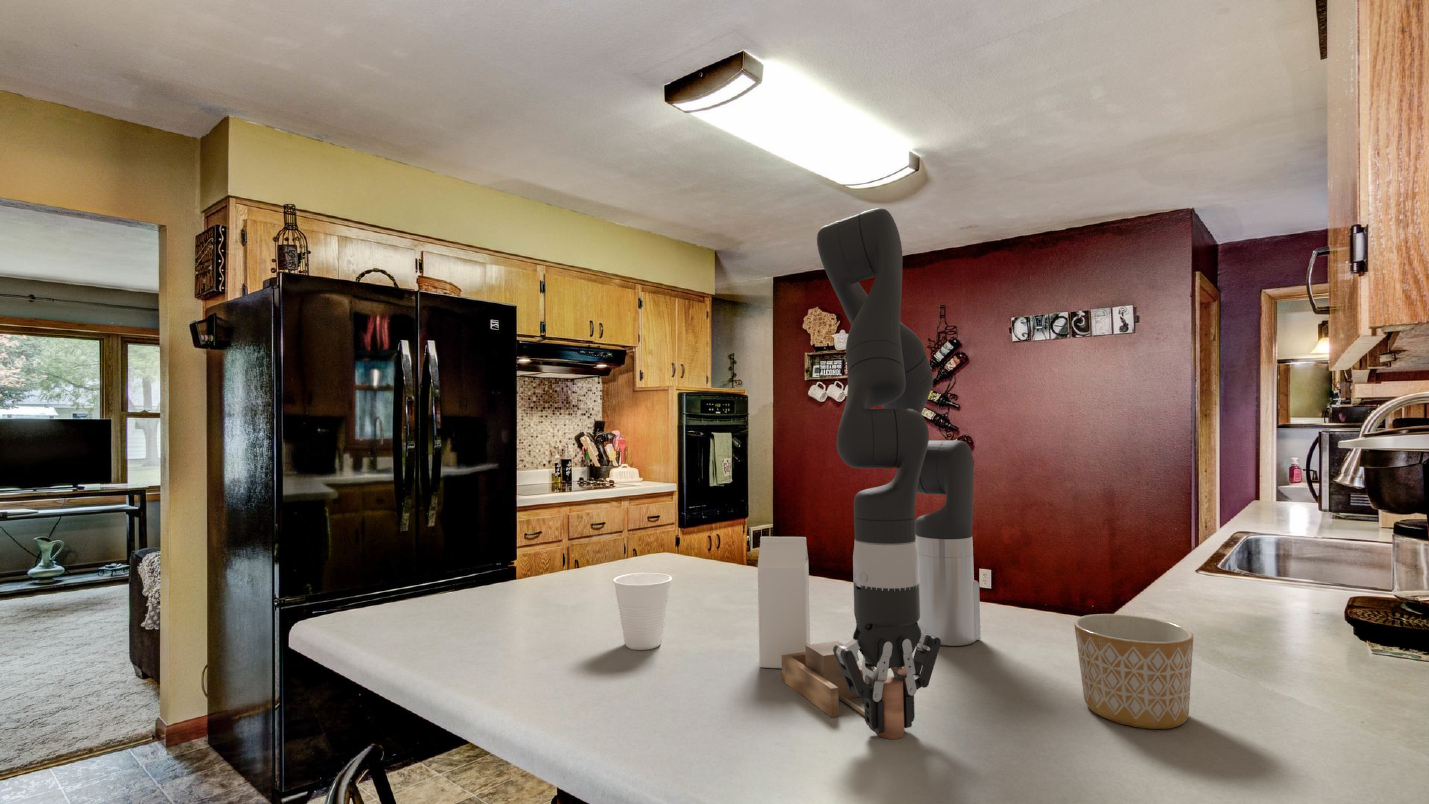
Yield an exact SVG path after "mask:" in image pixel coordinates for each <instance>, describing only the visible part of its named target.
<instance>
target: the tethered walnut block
mask: <svg viewBox="0 0 1429 804" xmlns="http://www.w3.org/2000/svg"><path fill="white" fill-rule="evenodd" d="M837 644H839V645H841V646H843V645H845V643H842V642H840V641H839V640H831V641H825V642H818V643H810V644H809V645H805V652H806V667H808V668H809V669H811V670H812V671H814V672H815V673H817V674H818V675H820V676H821V677H823V678H825V679H826V680H828V681H829V682H831V683H832V684H834V685H835V686H837V687H838V701H841V702H843V703H845V704H846V705H847V706H849V707H850V708H852V709H853V710H855V711H856V712H857V713H859V714H860V715H862V716H863V717H865V709H864V708H862V707H860V706H859V705H857V704H856V703H854V702H853V701H852V700H850V699H853V698H854V699H855V698H858V697H859V696H858V695H857V694H855V693H853V692H851V691H850V690H849V689H848V687H847V684H846V682H845V679H844V677H843V674H842V672H841V669H840V667H839V664H838V662H837V660H836V657H835V655H834V652H833V648H834V646H835V645H837ZM881 700H882V701H883V709H884V732H883V733H879V734H877V733H876V734H877V736H878V737H880V738H883V739H886V740H899V739H902V738H904V737H905V728H904V701H903V681H902V680H901V679H900V678H897V677H894V676H891V675H887V680H886V681H884V684H883V691H882V698H881Z"/></svg>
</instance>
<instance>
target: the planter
mask: <svg viewBox="0 0 1429 804" xmlns="http://www.w3.org/2000/svg"><path fill="white" fill-rule="evenodd" d="M1073 624H1074V626H1073V627H1074V634H1075V639H1076V647H1077V656H1078V662H1079V669H1080V676H1081V677H1080V678H1081V684H1082V692H1083V698H1084V702H1085V704H1086V706H1087V707H1088V708H1089V709H1090V710H1091V711H1092V712H1094V713H1095V714H1096V715H1098V716H1100V717H1102V718H1104V719H1107V720H1108V721H1111V722H1114V723H1117V724H1121V725H1123V726H1129V727H1133V728H1138V729H1139V728H1140V729H1147V730H1148V729H1150V730H1164V729H1165V730H1166V729H1172V728H1176V727H1179V726H1181V725H1183V724H1184V723H1185V722H1186V721H1187V720H1188V718H1189V714H1190V699H1191V697H1190V696H1191V685H1192V667H1193V652H1194V651H1193V650H1194V648H1193V647H1194V633H1193V632H1192V631H1191V630H1189V629H1188V628H1186V627H1184V626H1182V625H1179V624H1176V623H1174V622H1170V621H1166V620H1161V619H1159V618H1158V619H1157V618H1153V617H1146V616H1140V615H1130V614H1117V613H1100V614H1099V613H1097V614H1086V615H1083V616H1080V617H1077V618H1076V619H1075V620H1074V621H1073Z"/></svg>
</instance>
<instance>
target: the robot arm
mask: <svg viewBox="0 0 1429 804" xmlns="http://www.w3.org/2000/svg"><path fill="white" fill-rule="evenodd" d="M816 236H817V237H816V246H817V250H818V255H819V257H820V260H821V261H820V262H821V263H822V266H823V269H824V271H825V273H826V275H827V277H828V279H829V281H830V284H831V286H832V289H833V290H834V293H835V294H836V296H837V299H838V300H839V303H840V305H841V306H842V309H843V311H844V313H845V316H846V317H847V320H848V322H849V324H850V329H849V331H848V335H847V338H846V342H845V343H846V344H845V356H846V358H845V359H846V371H847V374H846V375H847V392H846V399H845V404H844V407H843V412H842V415H841V418H840V421H839V425H838V428H837V429H838V430H837V434H836V449H837V452H838V455H839V457H840V459H841V460H842V461H843V463H844V464H845V465H847V466H848V467H850V468H852V469H897V470H896V473H895V475H894V477H893V478H892V480H890V481H889V482H888V483H886V484H883V485H881V486H876V487H875V486H874V487H871V488H866V489H863V490H860V491H858V492H857V493H856V494H855V496H854V499H853V500H854V501H853V526H854V527H853V528H854V529H853V531H854V545H853V546H854V547H853V552H852V553H853V555H852V567H853V569H852V570H853V571H852V573H853V574H852V575H853V577H852V578H853V579H852V581H853V614H854V618H855V624H856V627H855V629H854V632H853V635H852V639H850V641H847V642H846V643H844V645H843V646H841V645H839V644H837V645H835V646H834V648H833V652H834V655H835V657H836V660H837V662H838V664H839V667H840V669H841V672H842V674H843V677H844V679H845V682H846V684H847V687H848V689H849V690H850V691H851V692H853V693H855V694H857V695H858V697H859V698H860V699H863V701H864V704H863V705H864V710H865V716H864V722H865V724H866V725H867V726H868V728H869V729H870V730H871V731H872V732H873V733H876V734H879V733H883V732H884V709H883V701H882V700H881V698H882V691H883V684H884V681H886V680H887V676H888V674H889V673H888V672H889V669H890V670H891V671H892V673H893V677H897V678H900V679H901V680H902V681H903V701H904V729H908V728H912V727H913V722H914V721H915V713H916V712H915V694H917V690H919V689H921V688H924V689H925V688H928V686H929V684H930V682H931V679H932V678H931V677H932V674H933V670H934V667H935V666H936V665H935V664H936V661H937V657H938V654H939V651H940V647H941V646H949V647H950V646H951V647H955V646H956V647H957V646H959V647H960V646H967V645H971V644H973V643H975V642H976V641H977V640H979V641H980V640H981V638H982V637H981V635H982V634H981V632H982V631H981V611H980V610H981V608H980V606H981V605H980V583H979V582H978V581H977V580H975V579H974V578H975V577H974V576H975V575H974V574H975V573H974V572H975V571H974V569H975V568H974V546H973V544H974V543H973V542H974V541H973V524H974V523H973V521H974V482H975V481H974V479H975V477H974V476H975V473H974V472H975V466H974V464H975V463H974V456H973V452H972V449H971V447H970V446H969V444H968V443H967V442H966V441H963V440H954V439H953V440H948V439H947V440H946V439H945V440H943V439H942V440H941V439H940V440H935V439H934V440H930V429H929V425H928V424H927V421H926V419H925V418H924V416H923V415H922V413H923V411H924V408H925V407H926V404H927V401H928V400H929V397H930V394H931V392H932V388H933V384H934V383H933V382H934V381H933V380H934V375H933V371H932V367H931V364H930V361H929V358H928V356H927V352H926V350H925V346H924V344H923V342H922V341H921V338H919V336H918V334H916V333H915V332H914V331H913V330H912V329H910V328H909V327H908V326H907V325H905V324H904V323H902V322H901V312H902V311H901V310H902V308H901V306H902V297H903V296H902V293H903V248H902V247H903V246H902V241H901V236H900V232H899V228H898V226H897V224H896V222H895V219H894V217H893V216H892V214H891V213H890V211H888V209H886V208H882V207H877V208H872V209H869V210H865V211H862V212H860V213H857V214H853V215H851V216H848V217H845V218H842V219H839V220H836V221H834V222H832V223H829V224H826V225H823V226H822V227H821V228H819V230H818V232H817V235H816ZM872 278H874V279H873V280H874V281H873V284H872V286H871V288H870V290H869V293H868V294H867V292H866V290H865V289H864V288H863V287H862V285H861V283H860V282H864V281H866V280H869V279H872ZM880 406H881V408H878V407H880ZM876 407H877V408H876ZM917 493H918V494H922V495H939V496H945V503H944V505H943V506H942V507H941V508H939V509H937V510H936V511H934V512H930V513H926V514H923V515H920V516H918V517H917V518H916V498H917ZM859 652H860V653H861V655H862V664H861V666H862V673H863V677H862V674H861V672H860V669H859V667H858V665H857V663H858V662H859V661H860V658H859ZM913 653H914V655H913Z"/></svg>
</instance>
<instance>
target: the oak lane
mask: <svg viewBox="0 0 1429 804" xmlns="http://www.w3.org/2000/svg"><path fill="white" fill-rule="evenodd" d="M781 657H782V668H781V681H782V682H783V683H785V684H786V685H787V686H789V687H790V688H792V689H793V690H794V691H795V692H797V693H798V694H800V695H801V696H802V697H804V698H805V699H806V700H808V701H809V702H811V704H813V705H815V706H816V707H817V708H819V709H820V710H821V711H823V712H824V713H825V714H827V716H829V717H830V718H837V717H840V708H839V704H840V703H839V700H838V687H837V686H835V685H834V684H832V683H831V682H829V681H828V680H826V679H825V678H823V677H821V676H820V675H818V674H817V673H815V672H814V671H812V670H811V669H809V668H808V667H806V652H801V653H794V654H787V655H781ZM857 665H858V667H859V669H860V672H861V674H862V677H863V673H862V664H860V663H858V662H857Z"/></svg>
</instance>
